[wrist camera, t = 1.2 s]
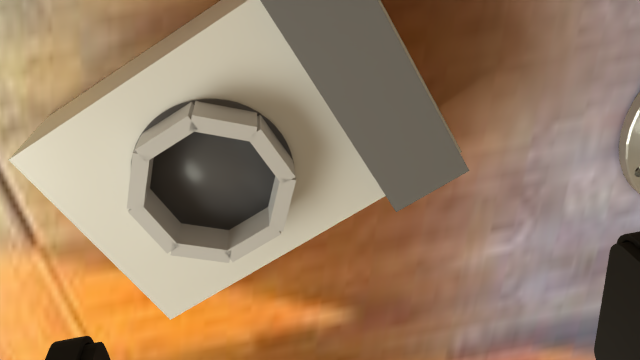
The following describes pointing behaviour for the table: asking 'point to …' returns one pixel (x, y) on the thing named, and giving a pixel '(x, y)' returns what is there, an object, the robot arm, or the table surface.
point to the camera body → (241, 142)
